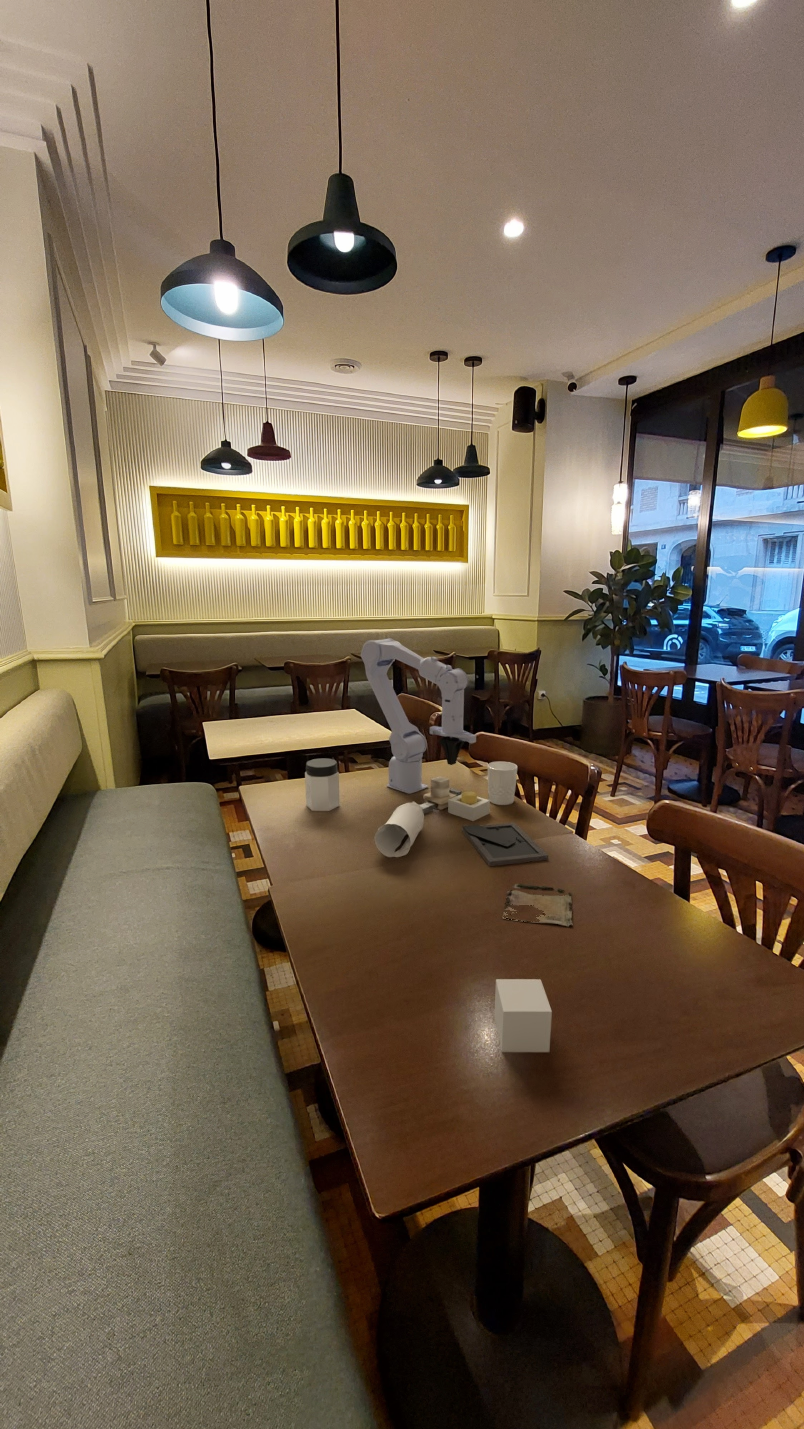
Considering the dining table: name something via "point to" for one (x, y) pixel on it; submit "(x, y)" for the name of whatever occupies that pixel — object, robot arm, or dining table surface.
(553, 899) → the parchment
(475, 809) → the frame
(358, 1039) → the dining table surface
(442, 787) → the carriage
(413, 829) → the white hollow cylinder
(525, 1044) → the white cube
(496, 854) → the picture frame
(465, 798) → the cylinder
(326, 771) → the jar
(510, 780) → the white cup
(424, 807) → the gray block handle
